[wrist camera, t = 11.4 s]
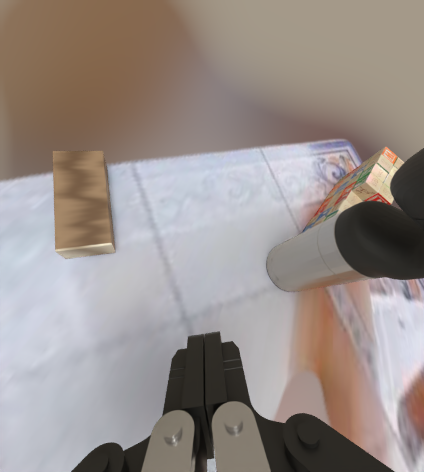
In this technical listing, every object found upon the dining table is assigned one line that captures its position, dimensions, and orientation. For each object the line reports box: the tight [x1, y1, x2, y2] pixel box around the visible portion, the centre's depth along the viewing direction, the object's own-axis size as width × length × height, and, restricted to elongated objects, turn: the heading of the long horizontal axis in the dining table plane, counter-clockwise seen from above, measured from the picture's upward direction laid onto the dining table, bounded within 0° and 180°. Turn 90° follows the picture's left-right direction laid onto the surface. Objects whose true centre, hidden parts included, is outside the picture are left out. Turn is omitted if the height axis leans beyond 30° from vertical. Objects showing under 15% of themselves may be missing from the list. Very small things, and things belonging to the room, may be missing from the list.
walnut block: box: [53, 151, 115, 259], centre depth 36 cm, size 7×4×16 cm
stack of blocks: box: [302, 147, 404, 233], centre depth 46 cm, size 21×6×12 cm, turn 139°
